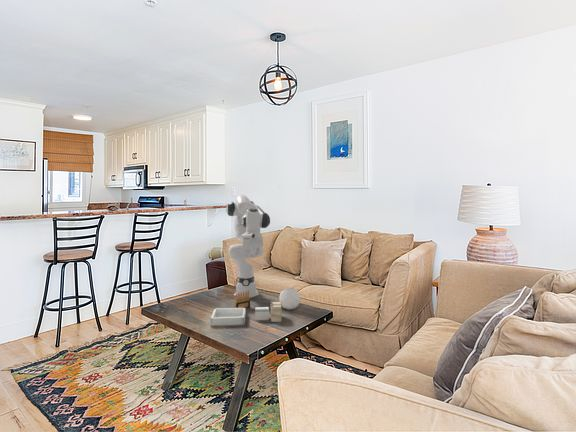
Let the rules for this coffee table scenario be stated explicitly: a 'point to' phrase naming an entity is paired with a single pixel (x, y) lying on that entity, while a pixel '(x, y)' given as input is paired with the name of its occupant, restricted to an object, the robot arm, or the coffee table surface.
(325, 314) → the coffee table surface
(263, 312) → the teal-striped white carton
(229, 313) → the tray
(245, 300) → the ammunition clip
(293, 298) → the geodesic sphere
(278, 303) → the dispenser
